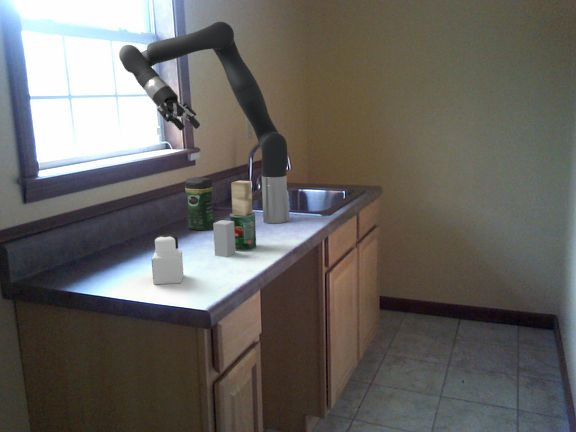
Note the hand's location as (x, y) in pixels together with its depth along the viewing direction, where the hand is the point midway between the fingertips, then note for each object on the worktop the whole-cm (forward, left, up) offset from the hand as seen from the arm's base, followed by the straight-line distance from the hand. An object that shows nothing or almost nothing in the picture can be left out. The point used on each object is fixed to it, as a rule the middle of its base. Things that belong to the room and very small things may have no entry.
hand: (190, 127), depth 193 cm
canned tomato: (-11, +23, -37) cm, 45 cm away
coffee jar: (-3, -9, -37) cm, 38 cm away
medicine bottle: (+15, +46, -37) cm, 61 cm away
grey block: (-4, +28, -37) cm, 46 cm away
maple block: (-11, +23, -26) cm, 36 cm away
